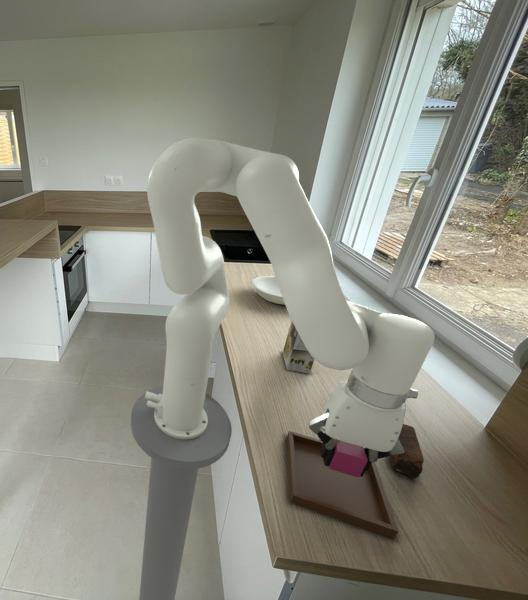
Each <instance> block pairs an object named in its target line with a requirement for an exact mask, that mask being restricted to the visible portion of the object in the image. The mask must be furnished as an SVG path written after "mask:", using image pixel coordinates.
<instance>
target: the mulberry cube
mask: <svg viewBox="0 0 528 600" xmlns="http://www.w3.org/2000/svg"><path fill="white" fill-rule="evenodd" d="M364 448H365V447H361V446H358V445H354V444H351V443H347V442H344V441H340V442H339V443H338V444H337V445H336V446H335V447H334V451H335V453H334V456H333V458H332V460H331V463H330V465H329V466H330V469H332V470H335V471H338V472H341V473H345V474H348V475H351V476H355V477H358V478H359V477H360V475H361V473H362V471H363V469H364V467H365V465H366V463H367V461H368V459H367V456H366V453H365V450H364Z"/></svg>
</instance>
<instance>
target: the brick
mask: <svg viewBox="0 0 528 600" xmlns="http://www.w3.org/2000/svg"><path fill="white" fill-rule="evenodd" d="M398 439H399V441H400V443H401V445H402V447H403V449H404V451H405V452H404V453H403V454H397V455H392V454H391V455H390V456H389V459H390V462H391V466H392V469H393V470H394V471H396V472H398V473H402V474H404V475H407V476H408V477H410V478H411V479H417V478H419V477H420V475H421V474H422V473H423V470H424V469H423V468H424V467H423V466H424V465H423V464H424V462H425V459H424V456H423V452H422V449H421V446H420V443H419V439H418V436H417V433H416V429H415V427H413V426H411V425H408V424H405V423H403V426H402V429H401V432H400V435H399V437H398Z"/></svg>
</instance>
